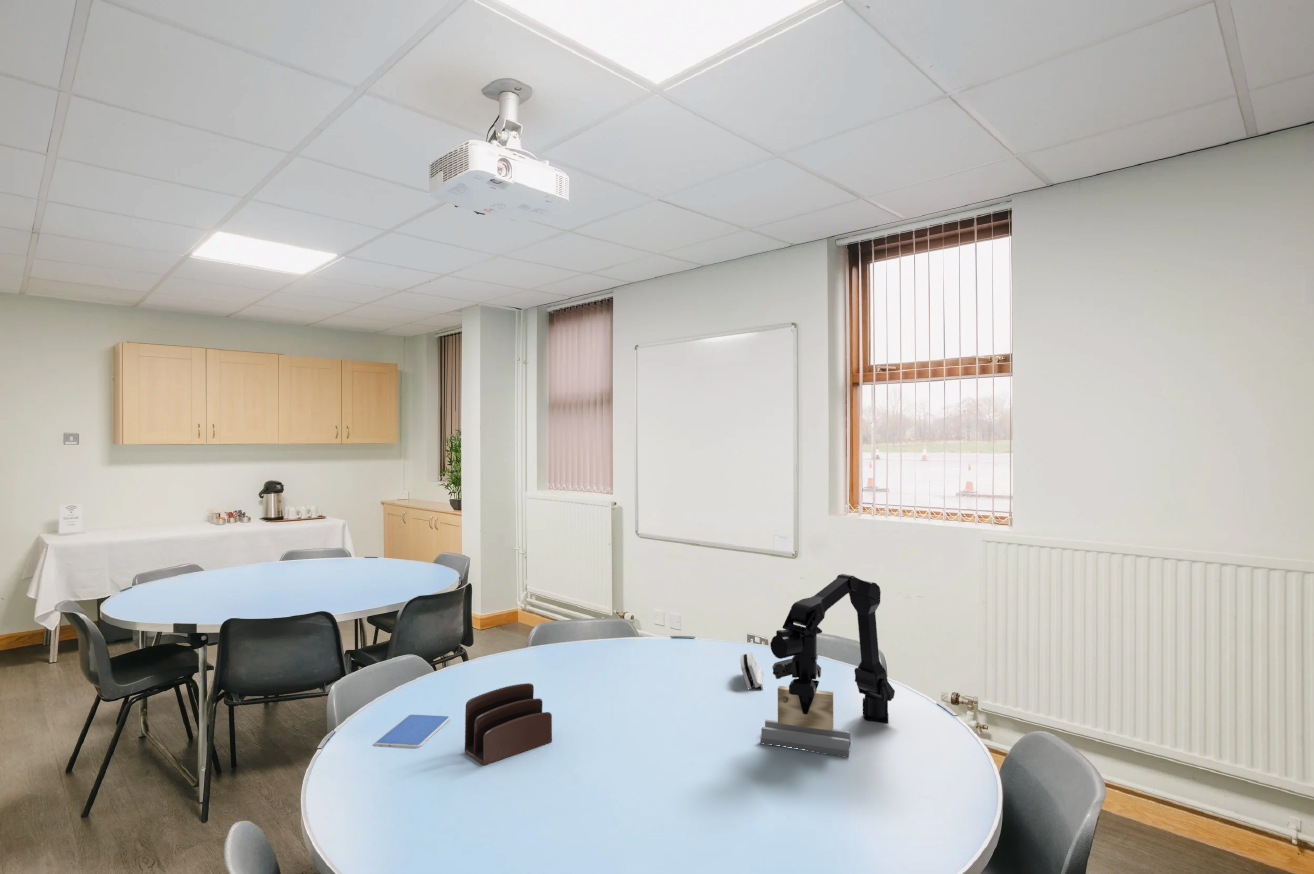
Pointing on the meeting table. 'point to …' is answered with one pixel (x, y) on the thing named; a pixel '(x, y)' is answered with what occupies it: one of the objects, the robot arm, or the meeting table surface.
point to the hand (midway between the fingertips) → (805, 712)
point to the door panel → (817, 714)
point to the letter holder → (505, 723)
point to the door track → (806, 738)
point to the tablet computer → (413, 731)
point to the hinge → (751, 671)
